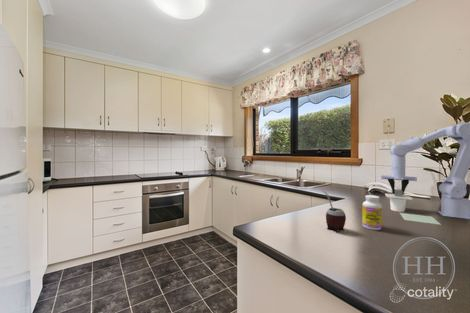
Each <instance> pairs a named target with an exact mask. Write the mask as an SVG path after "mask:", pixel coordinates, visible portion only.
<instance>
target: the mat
mask: <svg viewBox="0 0 470 313" xmlns="http://www.w3.org/2000/svg"><path fill="white" fill-rule="evenodd" d="M399 215H401V218H403V220H404V221H410V222H417V223H418V222H419V223H425V224H432V225H440V226H441V225H442V224H441V223H440V222H439V221H437V219H436V218H434V217H433V216H429V215H419V214H412V213H404V212H399Z"/></svg>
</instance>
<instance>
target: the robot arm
mask: <svg viewBox="0 0 470 313" xmlns="http://www.w3.org/2000/svg"><path fill="white" fill-rule="evenodd" d="M443 137H448V138H451V139H452V140H454V141H455V142H457V143H458V144H459V145H460V146H459V148H458V151H457V154H456V155H455V159H454V161H453V165H452V167H451V169H450V172H449V173H448V174H449V175H448V176H446V177H445V179H443V181H442V183H440V184H439V186H438V191H439V192H440V193H441V195H440V197H441V198H440V199H441V201H440V211H437V213H439V214H440V215H441V216H444V217H451V218H452V217H453V218H460V219H467V220H468V219H469V220H470V199H469V198H464V197H465V196H466V195H467V193H468V192H467V191H468V190H467V186H468V183H467V181H466V180H465V179H466V177H467V174H468V171H469V169H470V123H469V122H462V123H457V124H452V125H449V126H446V127H442V128H440V129H438V130H435V131H432V132H431V133H428V134H426V135H424V136H422V137H418V136H415V137H413V136H411V137H409V139H408V140H405V141H400V142H399V143H398V144H396V145H393V146H392V147H391V148H390V150H389V153H390V154H391V161H390V162H391V169H390V170H391V173H390V174H391V175H382V174H381V175H380V180H387V181H388V183H389V186H390V188H391V194H395V189H396V188H395V184H396V182H395V181H400V182H401V189H400V190H402V191H403V195H405V190H406V188H407V187H408V185H409V183H410V182H417V181H418V177H416V176H407V175H406V160H407V159H406V155H407V154H408V153H411V152H414V151H416V150H419V149H422V148H424V145H425V144H426V143H429V142H433V141H434V140H438V139H439V138H443Z"/></svg>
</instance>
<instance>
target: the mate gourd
mask: <svg viewBox="0 0 470 313" xmlns="http://www.w3.org/2000/svg"><path fill="white" fill-rule="evenodd" d="M322 192H323V193H324V194H325V195H326V197H327V199H328V201H329V202H328V203H329V204H330V208H328V209H327V211H326V212H325V221H326V222H325V223H326V226H327V227H326V229H327V230H328V231H334V232H336V233H340V231H345V225H346V220H347V216H346V213H345V211H344V210H343V209H342V208H337V207H334V206H333V204H332V201H331V197H330V195H329V194H328V193H327V192H325V190H322Z"/></svg>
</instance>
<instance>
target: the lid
mask: <svg viewBox="0 0 470 313" xmlns="http://www.w3.org/2000/svg"><path fill="white" fill-rule="evenodd" d="M384 195H385V197H386V198H388V199H390V198H398V199H406V200H410V201H412V200H413V197H411V196H410V195H408V194H404V195H403V191H402V190H401V189H398V188H397V189H396V188H395V194H393V193H384Z"/></svg>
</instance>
